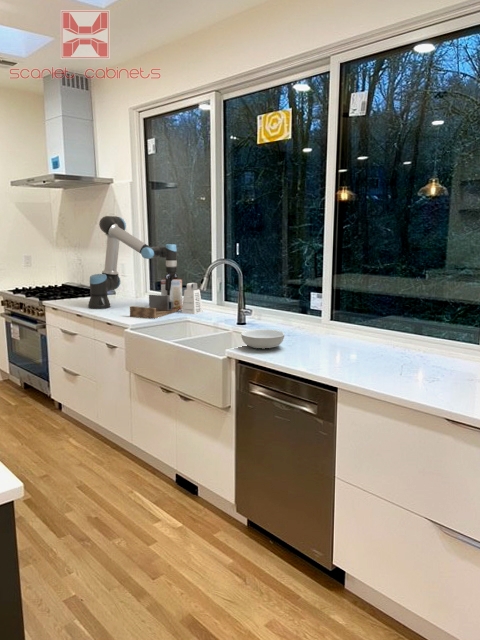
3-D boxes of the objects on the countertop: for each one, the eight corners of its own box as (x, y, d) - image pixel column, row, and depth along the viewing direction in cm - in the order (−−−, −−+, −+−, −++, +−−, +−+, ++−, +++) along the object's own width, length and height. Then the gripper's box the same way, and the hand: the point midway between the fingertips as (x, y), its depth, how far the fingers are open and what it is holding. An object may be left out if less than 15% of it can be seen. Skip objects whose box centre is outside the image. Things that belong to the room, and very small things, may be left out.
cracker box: (182, 308, 339) (182, 279, 335) (180, 309, 333) (180, 280, 329) (163, 307, 340) (162, 278, 336) (161, 309, 334) (160, 279, 330)
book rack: (130, 316, 304) (129, 306, 302) (155, 309, 332) (154, 300, 331) (154, 318, 297) (154, 308, 296) (177, 311, 326) (177, 302, 325)
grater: (202, 312, 324) (202, 283, 321) (194, 314, 315) (194, 284, 311) (190, 310, 329) (190, 282, 325) (181, 312, 320) (181, 283, 316)
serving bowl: (269, 340, 242) (269, 327, 241) (292, 349, 224) (293, 335, 223) (233, 344, 232) (233, 330, 231) (254, 354, 214) (254, 339, 213)
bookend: (149, 309, 321) (148, 294, 319) (156, 307, 330) (156, 293, 328) (167, 310, 316) (167, 296, 314) (174, 308, 325) (174, 294, 324)
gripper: (169, 267, 320) (169, 301, 325) (182, 265, 339) (183, 297, 343) (159, 267, 323) (160, 300, 327) (173, 265, 341) (173, 297, 345)
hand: (171, 298), depth 335 cm, fingers closed on cracker box, 7 cm apart
